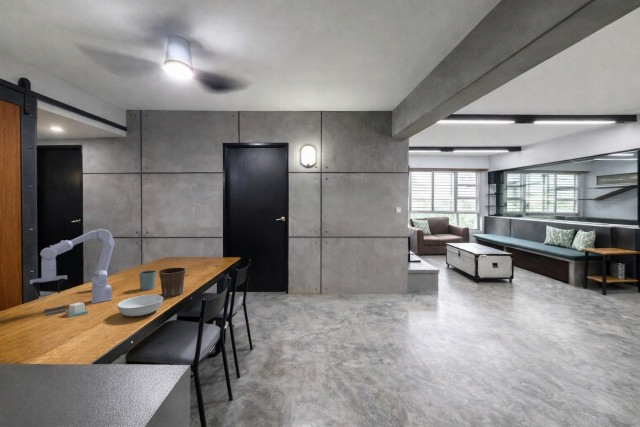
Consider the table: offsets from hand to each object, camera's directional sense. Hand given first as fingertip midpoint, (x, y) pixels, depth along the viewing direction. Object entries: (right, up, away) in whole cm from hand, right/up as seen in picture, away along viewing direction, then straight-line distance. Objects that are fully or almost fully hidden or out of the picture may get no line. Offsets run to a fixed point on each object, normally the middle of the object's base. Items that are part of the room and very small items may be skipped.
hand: (49, 294), depth 151 cm
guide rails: (+10, -10, -1) cm, 14 cm away
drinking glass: (+27, -9, +43) cm, 52 cm away
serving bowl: (+51, -10, -1) cm, 52 cm away
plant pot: (+51, -9, +31) cm, 61 cm away
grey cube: (+17, -10, -2) cm, 20 cm away
